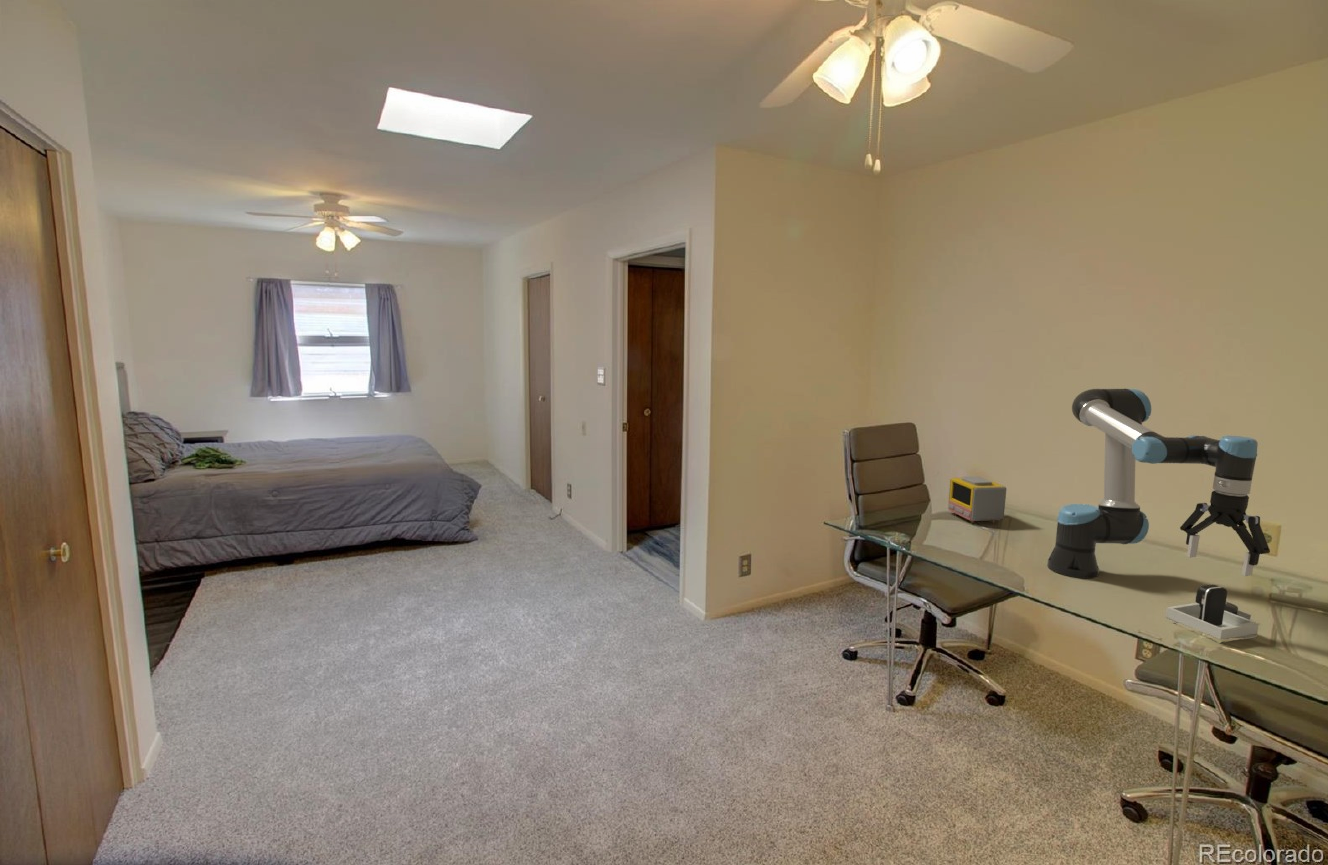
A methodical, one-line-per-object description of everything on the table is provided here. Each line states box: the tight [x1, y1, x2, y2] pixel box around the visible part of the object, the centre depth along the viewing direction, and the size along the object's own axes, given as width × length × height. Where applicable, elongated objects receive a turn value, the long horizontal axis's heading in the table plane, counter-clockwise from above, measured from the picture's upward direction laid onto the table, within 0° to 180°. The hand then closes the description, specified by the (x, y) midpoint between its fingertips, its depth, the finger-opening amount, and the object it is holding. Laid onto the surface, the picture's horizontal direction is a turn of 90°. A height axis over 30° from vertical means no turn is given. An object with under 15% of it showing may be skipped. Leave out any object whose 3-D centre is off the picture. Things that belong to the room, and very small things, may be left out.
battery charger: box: [1194, 584, 1228, 626], centre depth 170 cm, size 7×4×11 cm, turn 103°
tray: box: [1164, 602, 1260, 640], centre depth 170 cm, size 14×14×4 cm
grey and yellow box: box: [947, 475, 1007, 524], centre depth 272 cm, size 20×16×18 cm
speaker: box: [1225, 601, 1252, 620], centre depth 177 cm, size 10×8×4 cm
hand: (1218, 565), depth 167 cm, fingers open, 13 cm apart
